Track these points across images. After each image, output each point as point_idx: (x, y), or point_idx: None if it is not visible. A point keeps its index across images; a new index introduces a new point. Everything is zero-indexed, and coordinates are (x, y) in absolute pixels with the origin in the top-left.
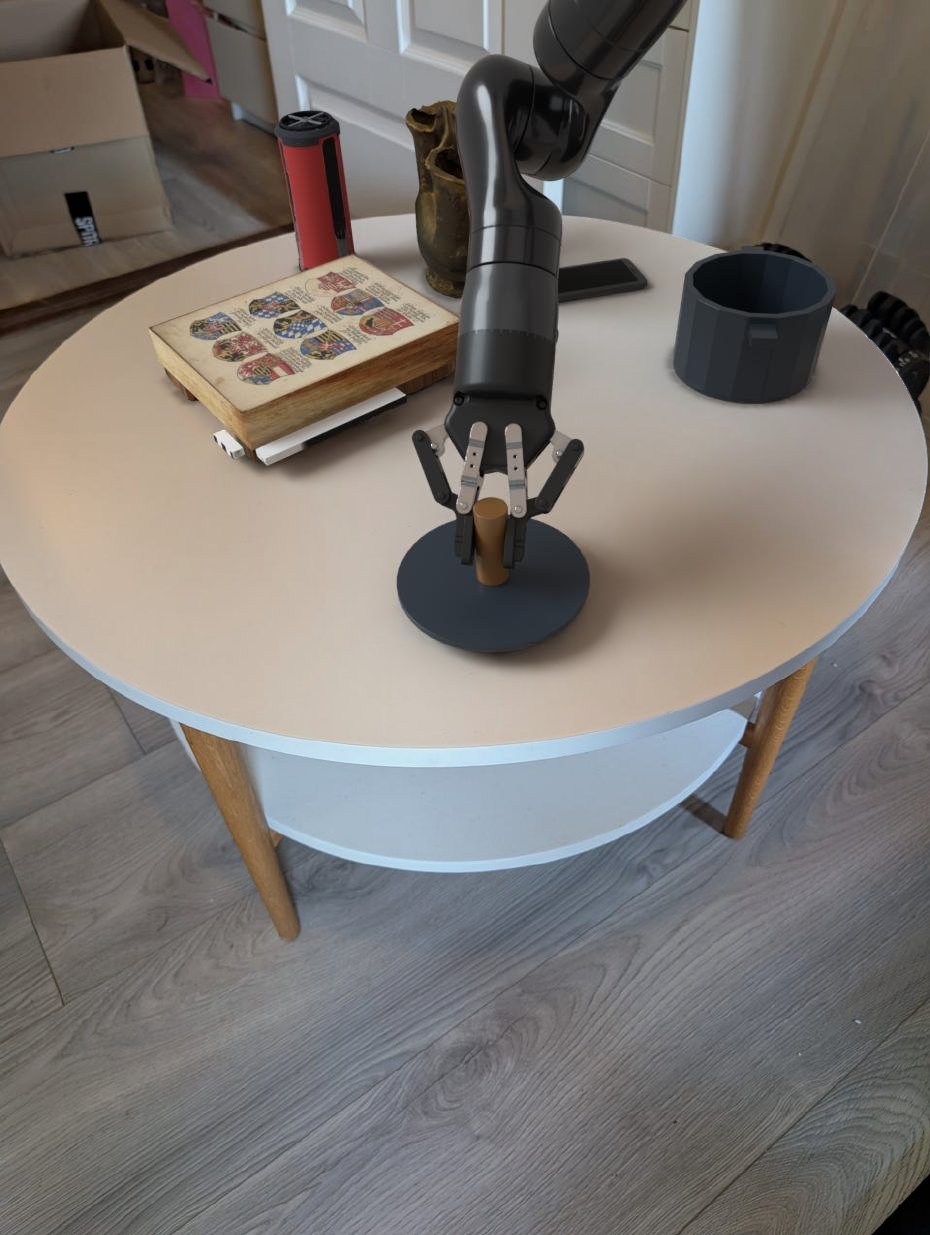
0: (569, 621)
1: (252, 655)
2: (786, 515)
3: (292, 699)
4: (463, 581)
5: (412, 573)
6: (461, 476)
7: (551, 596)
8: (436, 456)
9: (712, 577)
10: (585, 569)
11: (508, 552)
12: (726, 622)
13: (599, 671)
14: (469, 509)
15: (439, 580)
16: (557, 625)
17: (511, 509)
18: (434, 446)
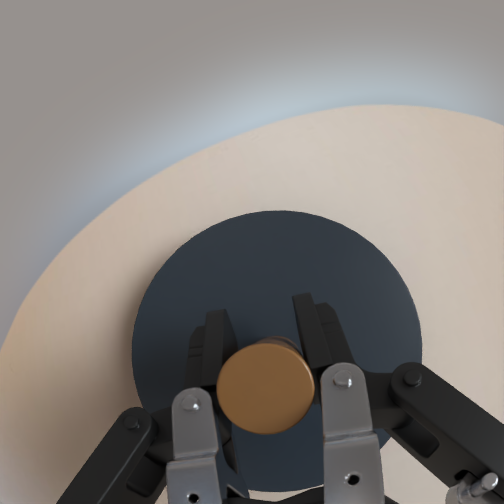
0: (142, 300)
1: (476, 170)
2: (40, 496)
3: (414, 132)
4: None
5: (397, 320)
6: (377, 439)
7: (174, 339)
8: (464, 474)
9: (56, 426)
10: (146, 404)
11: (213, 325)
12: (37, 365)
13: (120, 267)
14: (324, 376)
15: (353, 322)
16: (154, 286)
17: (209, 401)
18: (488, 480)
